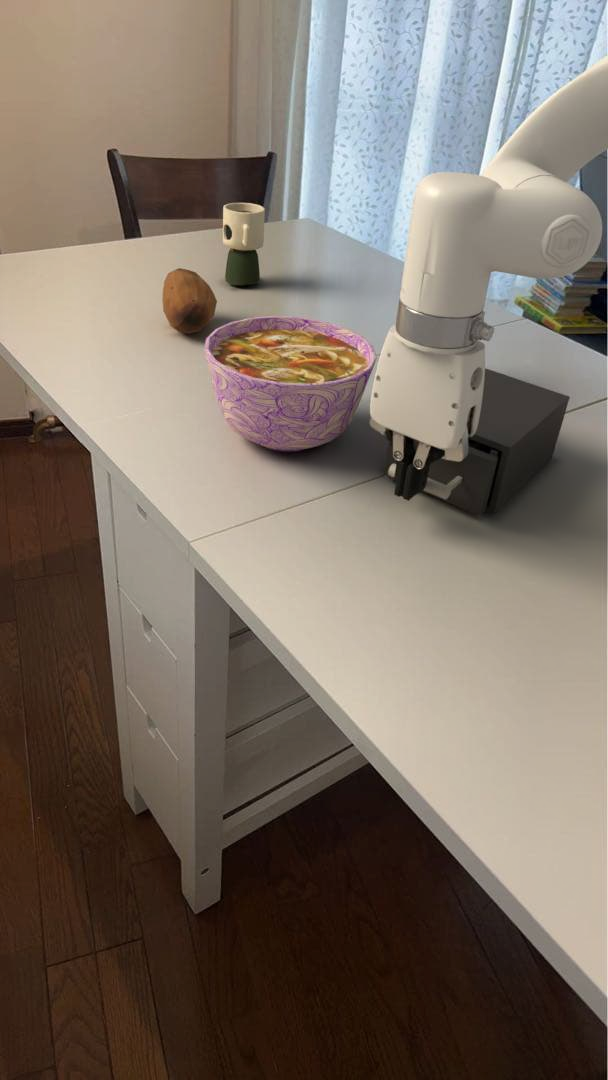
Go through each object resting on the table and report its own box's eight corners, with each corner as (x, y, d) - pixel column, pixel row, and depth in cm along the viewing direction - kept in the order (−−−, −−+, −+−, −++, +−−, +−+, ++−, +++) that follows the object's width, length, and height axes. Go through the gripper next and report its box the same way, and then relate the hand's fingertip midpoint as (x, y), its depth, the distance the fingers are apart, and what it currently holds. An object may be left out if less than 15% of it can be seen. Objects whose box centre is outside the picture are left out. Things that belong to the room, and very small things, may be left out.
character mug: (220, 273, 147) (220, 198, 140) (258, 273, 148) (261, 200, 141) (224, 293, 139) (225, 215, 131) (265, 294, 140) (268, 216, 132)
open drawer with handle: (462, 533, 83) (475, 477, 79) (363, 489, 89) (370, 435, 85) (537, 462, 97) (551, 411, 93) (447, 427, 102) (457, 378, 98)
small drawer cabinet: (493, 515, 88) (510, 447, 83) (389, 471, 94) (399, 405, 89) (551, 459, 99) (570, 396, 94) (454, 423, 105) (467, 362, 100)
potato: (201, 359, 123) (158, 336, 118) (188, 309, 132) (147, 285, 126) (231, 324, 120) (188, 299, 115) (216, 275, 128) (175, 249, 123)
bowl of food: (396, 457, 97) (411, 368, 90) (249, 493, 88) (252, 398, 81) (314, 389, 111) (320, 307, 104) (179, 414, 102) (177, 327, 95)
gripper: (530, 335, 72) (488, 504, 82) (389, 292, 78) (367, 454, 89) (494, 359, 67) (455, 536, 77) (346, 311, 73) (329, 480, 84)
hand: (408, 492), depth 83 cm, fingers closed
